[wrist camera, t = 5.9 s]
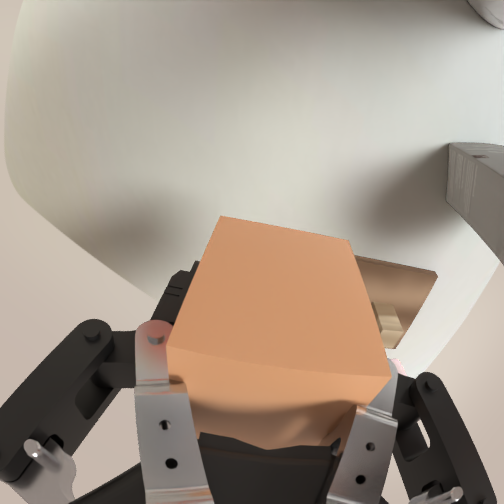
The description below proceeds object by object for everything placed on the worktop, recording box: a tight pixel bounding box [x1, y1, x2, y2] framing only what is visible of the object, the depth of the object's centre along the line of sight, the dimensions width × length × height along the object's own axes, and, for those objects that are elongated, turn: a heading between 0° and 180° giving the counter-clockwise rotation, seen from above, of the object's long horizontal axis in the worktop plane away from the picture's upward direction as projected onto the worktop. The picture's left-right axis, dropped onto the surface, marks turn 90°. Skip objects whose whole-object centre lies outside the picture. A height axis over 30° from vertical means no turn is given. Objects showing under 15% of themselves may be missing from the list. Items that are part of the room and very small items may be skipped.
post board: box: [354, 255, 438, 349], centre depth 30 cm, size 12×22×6 cm, turn 81°
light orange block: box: [166, 216, 392, 450], centre depth 10 cm, size 5×5×7 cm
